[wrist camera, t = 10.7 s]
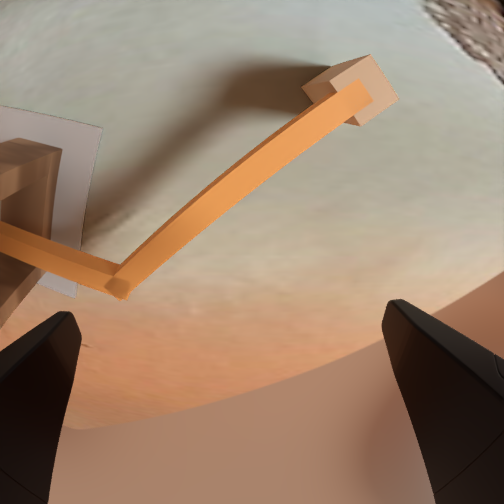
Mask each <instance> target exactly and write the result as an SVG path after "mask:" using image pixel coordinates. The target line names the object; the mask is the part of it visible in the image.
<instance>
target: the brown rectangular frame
mask: <svg viewBox="0 0 504 504" xmlns="http://www.w3.org/2000/svg"><path fill="white" fill-rule="evenodd" d="M62 150H63V149H61V148H57V147H54V146H50V145H46V144H42V143H39V142H35V141H31V140H27V139H23V138H15V139H12V140H8V141H5V142H2V143H0V201H1V221H2V222H5V223H7V224H10V225H12V226H15V227H17V228H20V229H22V230H25V231H27V232H30V233H33V234H35V235H38V236H41V237H43V238H46V239H49V240H51V228H52V217H53V208H54V200H55V192H56V185H57V178H58V172H59V166H60V161H61V155H62ZM46 272H47V271H45V270H42V269H40V268H38V267H35V266H33V265H30V264H28V263H25V262H23V261H21V260H18V259H16V258H14V257H11V256H9V255H7V254H5V253H2V252H0V329H1V328H2V326H3V325H4V323H5V322H6V321H7V319H8V318H9V317H10V316H11V314H12V313H13V312H14V310H15V309H16V308H17V306H18V305H19V304H20V303H21V301H22V300H23V299H24V298H25V296H26V295H27V294H28V293H29V292H30V290H31V289H32V288H33V287H34V286H35V284H36V283H37V282H38V281H39V280H40V279H41V277H42V276H43V275H44V274H45V273H46Z"/></svg>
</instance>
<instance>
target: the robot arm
mask: <svg viewBox="0 0 504 504" xmlns="http://www.w3.org/2000/svg"><path fill="white" fill-rule="evenodd" d="M382 332H383V336H384V339H385V343H386V346H387V350H388V354H389V357H390V361H391V365H392V368H393V372H394V375H395V378H396V381H397V383H398V386H399V389H400V391H401V394H402V397H403V400H404V402H405V405H406V408H407V411H408V413H409V416H410V419H411V422H412V425H413V428H414V431H415V434H416V437H417V440H418V443H419V447H420V450H421V453H422V456H423V459H424V462H425V466H426V469H427V473H428V476H429V480H430V483H431V487H432V491H433V493H434V499H435V503H436V504H504V359H502V358H501V357H499V356H498V355H496V354H495V355H494V353H492V352H491V351H489V350H487V349H486V348H484V347H483V346H481V345H479V344H478V343H476V342H475V341H473V340H471V339H470V338H468V337H466V336H465V335H463V334H461V333H460V332H458V331H456V330H455V329H453V328H451V327H450V326H448V325H446V324H444V323H443V322H441V321H439V320H438V319H436V318H434V317H432V316H431V315H429V314H427V313H426V312H424V311H422V310H420V309H419V308H417V307H415V306H414V305H412V304H410V303H408V302H407V301H405V300H403V299H396V300H390V301H389V302H388V303H387V306H386V310H385V313H384V317H383V320H382ZM81 341H82V336H81V332H80V330H79V327H78V325H77V322H76V320H75V317H74V315H73V314H72V313H71V312H69V311H59V312H57V313H56V314H54V315H53V316H51V317H50V318H48V319H47V320H45V321H44V322H42V323H41V324H39V325H38V326H36V327H35V328H33V329H32V330H30V331H29V332H27V333H26V334H25V335H23V336H22V337H20V338H19V339H17V340H16V341H14V342H13V343H12V344H10V345H9V346H7V347H6V348H4V349H3V350H2V351H0V504H48V500H49V491H50V485H51V479H52V472H53V467H54V462H55V457H56V451H57V447H58V442H59V437H60V433H61V428H62V424H63V420H64V416H65V412H66V408H67V404H68V400H69V397H70V393H71V389H72V385H73V381H74V376H75V371H76V365H77V360H78V355H79V350H80V346H81Z"/></svg>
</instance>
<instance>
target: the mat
mask: <svg viewBox="0 0 504 504" xmlns="http://www.w3.org/2000/svg"><path fill="white" fill-rule="evenodd" d="M102 131H103V128H101V127H97V126H93V125H89V124H85V123H81V122H77V121H72V120H68V119H64V118H60V117H55V116H51V115H46V114H42V113H37V112H32V111H27V110H22V109H17V108H12V107H6V106H0V143H2V142H5V141H8V140H12V139H15V138H23V139H27V140H31V141H35V142H39V143H42V144H46V145H50V146H54V147H57V148H61V149H63V150H62V155H61V161H60V166H59V172H58V178H57V185H56V192H55V200H54V208H53V217H52V228H51V241H54V242H57V243H59V244H62V245H65V246H68V247H70V248H73V249H76V250H79V251H80V246H81V238H82V230H83V223H84V217H85V210H86V204H87V199H88V193H89V188H90V183H91V178H92V173H93V168H94V163H95V159H96V155H97V151H98V146H99V142H100V138H101V135H102ZM0 221H1V201H0ZM37 284H40V285H42V286H45V287H47V288H49V289H52V290H54V291H57V292H59V293H62V294H65V295H67V296H70V297H72V298H75V297H76V291H77V283H76V282H73V281H71V280H68V279H65V278H63V277H60V276H58V275H55V274H53V273H50V272H46V273H45V274H44V275H43V276H42V277H41V279H40V280H39V281H38V282H37Z"/></svg>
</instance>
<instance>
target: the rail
mask: <svg viewBox="0 0 504 504" xmlns="http://www.w3.org/2000/svg"><path fill="white" fill-rule="evenodd" d="M301 88H302V89H303V90H304V92H305V93H306V94H307V96H308V97H309V98H310V100H311V101H312V102H313V105H311V106H310V107H309V108H307V109H306V110H304V111H303V112H302V113H300V114H299V115H298V116H296V117H295V118H293V119H292V120H291V121H289V122H288V123H287V124H285V125H284V126H283V127H281V128H280V129H279V130H277V131H276V132H275V133H273V134H272V135H271V136H269V137H268V138H267V139H265V140H264V141H263V142H262V143H260V144H259V145H258V146H256V147H255V148H254V149H253V150H251V151H250V152H249V153H247V154H246V155H245V156H244V157H242V158H241V159H240V160H239V161H237V162H236V163H235V164H234V165H232V166H231V167H230V168H229V169H227V170H226V171H225V172H224V173H223V174H221V175H220V176H219V177H218V178H217V179H215V180H214V181H213V182H212V183H211V184H209V185H208V186H207V187H206V188H205V189H203V190H202V191H201V192H200V193H199V194H197V195H196V196H195V197H194V198H193V199H192V200H190V201H189V202H188V203H187V204H186V205H185V206H184V207H182V208H181V209H180V210H179V211H178V212H177V213H176V214H174V215H173V216H172V217H171V218H170V219H169V220H168V221H167V222H165V223H164V224H163V225H162V226H161V227H160V228H159V229H158V230H157V231H156V232H154V233H153V234H152V235H151V236H150V237H149V238H148V239H147V240H146V241H145V242H144V243H143V244H141V245H140V246H139V247H138V248H137V249H136V250H135V251H134V252H133V253H132V254H131V255H130V256H129V257H128V258H127V259H126V260H125V261H123V262H122V263H121V264H120V265H119V264H116V263H113V262H110V261H107V260H104V259H102V258H99V257H96V256H93V255H90V254H87V253H84V252H82V251H79V250H76V249H73V248H70V247H68V246H65V245H62V244H59V243H57V242H54V241H51V240H49V239H46V238H43V237H41V236H38V235H35V234H33V233H30V232H27V231H25V230H22V229H20V228H17V227H15V226H12V225H10V224H7V223H5V222H2V221H0V252H2V253H5V254H7V255H9V256H11V257H14V258H16V259H18V260H21V261H23V262H25V263H28V264H30V265H33V266H35V267H38V268H40V269H42V270H45V271H47V272H50V273H53V274H55V275H58V276H60V277H63V278H65V279H68V280H71V281H73V282H76V283H79V284H81V285H84V286H87V287H90V288H92V289H95V290H98V291H101V292H104V293H107V294H110V295H112V296H114V297H115V298H117V299H118V300H119V301H121V300H122V299H124V300H127V299H128V297H129V295H130V292H131V291H132V290H133V289H134V288H135V287H137V286H138V285H139V284H140V283H141V282H142V281H143V280H145V279H146V278H147V277H148V276H149V275H150V274H152V273H153V272H154V271H155V270H156V269H157V268H159V267H160V266H161V265H162V264H163V263H164V262H166V261H167V260H168V259H169V258H170V257H171V256H173V255H174V254H175V253H176V252H177V251H179V250H180V249H181V248H182V247H183V246H185V245H186V244H187V243H188V242H189V241H191V240H192V239H193V238H194V237H195V236H197V235H198V234H199V233H200V232H201V231H203V230H204V229H205V228H206V227H208V226H209V225H210V224H211V223H212V222H214V221H215V220H216V219H217V218H219V217H220V216H221V215H222V214H224V213H225V212H226V211H227V210H229V209H230V208H231V207H232V206H234V205H235V204H236V203H237V202H239V201H240V200H241V199H242V198H244V197H245V196H246V195H247V194H249V193H250V192H251V191H253V190H254V189H255V188H256V187H258V186H259V185H260V184H262V183H263V182H264V181H265V180H267V179H268V178H269V177H271V176H272V175H273V174H275V173H276V172H277V171H278V170H280V169H281V168H282V167H284V166H285V165H286V164H288V163H289V162H290V161H292V160H293V159H294V158H296V157H297V156H298V155H300V154H301V153H302V152H304V151H305V150H306V149H308V148H309V147H310V146H312V145H313V144H314V143H316V142H317V141H319V140H320V139H321V138H323V137H324V136H325V135H327V134H328V133H329V132H331V131H332V130H334V129H335V128H336V127H338V126H339V125H341V124H342V123H348V124H352V125H357V126H362V125H364V124H365V123H367V122H368V121H369V120H371V119H372V118H374V117H375V116H376V115H378V114H379V113H381V112H382V111H383V110H385V109H386V108H388V107H389V106H391V105H392V104H393V103H395V102H396V101H398V100H399V98H398V96H397V94H396V93H395V91H394V89H393V88H392V86H391V84H390V83H389V81H388V80H387V78H386V77H385V75H384V73H383V72H382V70H381V69H380V67H379V66H378V64H377V63H376V62H375V60H374V59H373V57H372V56H371V54H370V55H366V56H363V57H360V58H356V59H353V60H350V61H346V62H343V63H340V64H337V65H334V66H331V67H330V68H328V69H327V70H325V71H324V72H322V73H321V74H319V75H318V76H316V77H315V78H313V79H312V80H311V81H309V82H308V83H306V84H305V85H303V86H302V87H301Z"/></svg>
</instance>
